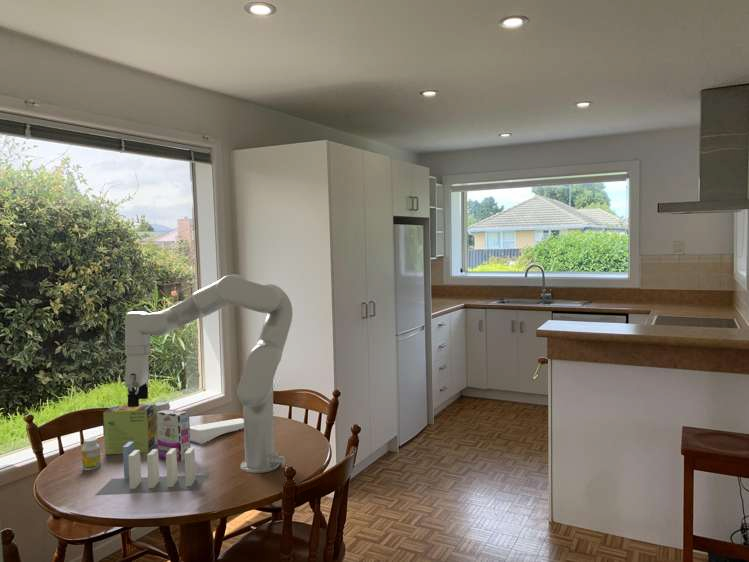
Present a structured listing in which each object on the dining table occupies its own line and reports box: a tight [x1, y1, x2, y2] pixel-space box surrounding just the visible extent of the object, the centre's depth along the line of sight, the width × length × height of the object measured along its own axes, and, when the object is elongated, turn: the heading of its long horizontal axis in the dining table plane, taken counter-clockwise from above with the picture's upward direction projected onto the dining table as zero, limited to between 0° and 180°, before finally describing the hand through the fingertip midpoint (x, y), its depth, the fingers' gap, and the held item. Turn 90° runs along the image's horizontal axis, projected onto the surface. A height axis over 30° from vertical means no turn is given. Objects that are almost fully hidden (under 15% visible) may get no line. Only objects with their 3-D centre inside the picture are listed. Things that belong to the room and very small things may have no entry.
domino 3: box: [165, 448, 178, 487], centre depth 172 cm, size 2×5×10 cm, turn 3°
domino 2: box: [146, 448, 160, 488], centre depth 172 cm, size 2×5×10 cm, turn 3°
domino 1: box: [128, 450, 142, 489], centre depth 171 cm, size 2×5×10 cm, turn 3°
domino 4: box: [184, 447, 196, 486], centre depth 172 cm, size 2×5×10 cm, turn 3°
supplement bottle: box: [81, 437, 101, 471], centre depth 188 cm, size 5×5×10 cm
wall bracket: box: [190, 418, 244, 445], centre depth 223 cm, size 10×7×28 cm
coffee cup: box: [151, 400, 171, 428], centre depth 224 cm, size 8×9×12 cm
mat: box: [94, 474, 209, 496], centre depth 172 cm, size 30×12×1 cm, turn 93°
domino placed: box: [122, 442, 134, 478], centre depth 181 cm, size 2×5×10 cm, turn 3°
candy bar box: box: [156, 408, 191, 463], centre depth 195 cm, size 11×5×16 cm, turn 62°
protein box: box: [102, 402, 158, 455], centre depth 206 cm, size 10×15×16 cm
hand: (138, 402), depth 183 cm, fingers open, 9 cm apart
